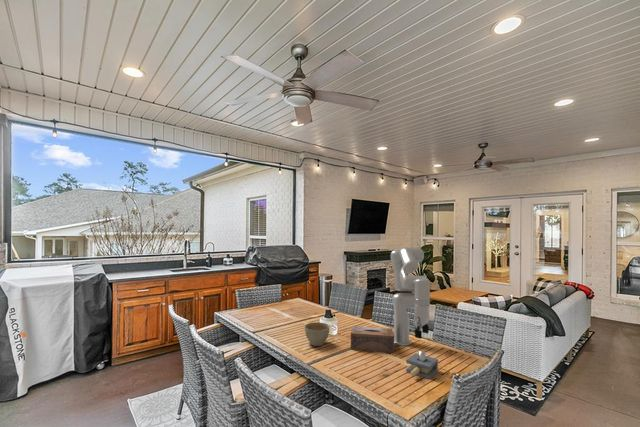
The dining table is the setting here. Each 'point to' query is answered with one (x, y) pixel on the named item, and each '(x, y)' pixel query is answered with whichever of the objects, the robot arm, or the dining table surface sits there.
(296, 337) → the dining table surface
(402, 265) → the robot arm
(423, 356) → the steel pin
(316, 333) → the planter bowl
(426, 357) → the clevis bracket
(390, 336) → the tissue box cover
